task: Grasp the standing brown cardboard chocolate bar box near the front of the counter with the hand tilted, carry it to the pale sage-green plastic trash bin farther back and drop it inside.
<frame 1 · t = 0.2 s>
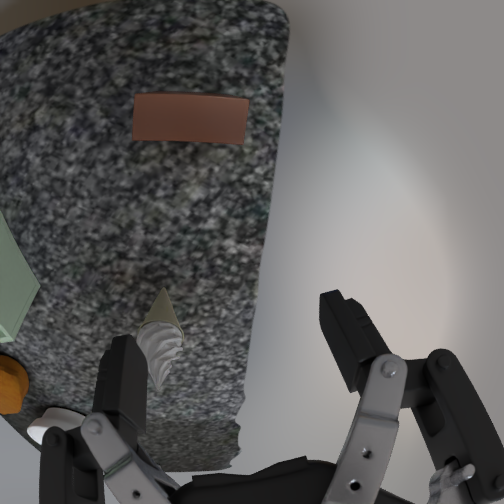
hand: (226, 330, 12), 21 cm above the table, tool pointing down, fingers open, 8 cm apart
chocolate bar: (191, 106, 25), on the table
bowl: (71, 417, 51), on the table
ice cream cone: (163, 287, 36), on the table
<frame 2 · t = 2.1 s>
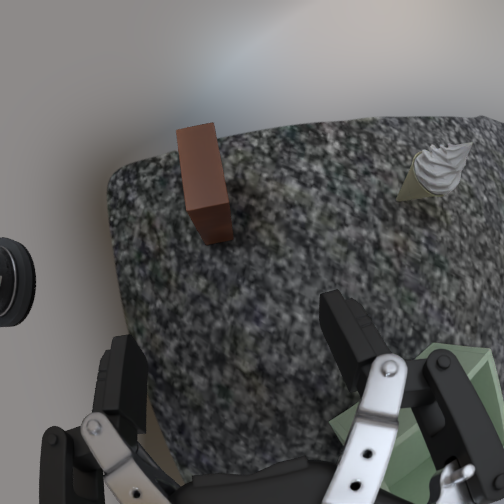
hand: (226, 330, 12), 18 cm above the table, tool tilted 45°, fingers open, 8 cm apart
chocolate bar: (213, 211, 31), on the table
trash bin: (407, 427, 27), on the table
ice cream cone: (396, 200, 32), on the table
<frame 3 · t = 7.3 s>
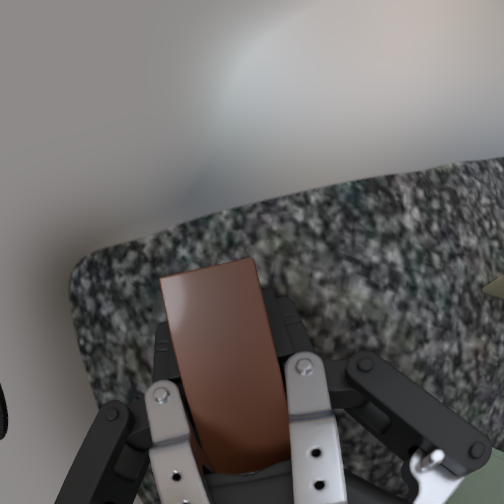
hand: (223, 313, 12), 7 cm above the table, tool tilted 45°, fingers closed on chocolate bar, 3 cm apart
chocolate bar: (238, 341, 19), on the table, touching gripper
ice cream cone: (482, 290, 20), on the table
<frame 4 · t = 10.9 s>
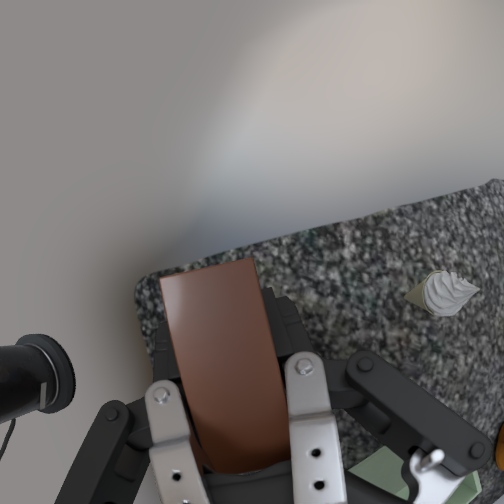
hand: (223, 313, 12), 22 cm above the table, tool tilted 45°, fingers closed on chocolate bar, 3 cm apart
chocolate bar: (238, 341, 19), point 15 cm above the table, touching gripper
trash bin: (399, 475, 29), on the table
ice cream cone: (404, 297, 35), on the table
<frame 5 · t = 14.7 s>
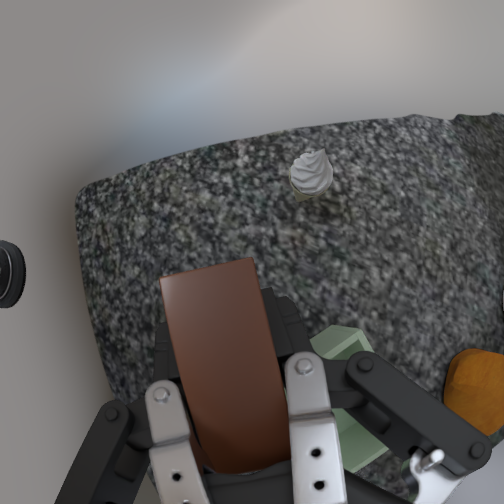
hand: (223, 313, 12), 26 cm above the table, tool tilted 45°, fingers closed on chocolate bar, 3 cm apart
bread: (465, 393, 36), on the table
chocolate bar: (238, 341, 19), point 19 cm above the table, touching gripper
trash bin: (311, 400, 36), on the table
ice cream cone: (297, 201, 42), on the table
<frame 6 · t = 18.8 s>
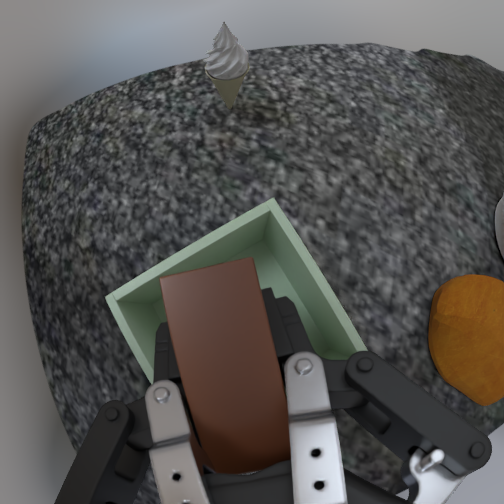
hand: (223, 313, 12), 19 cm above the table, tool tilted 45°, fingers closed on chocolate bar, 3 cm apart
bread: (459, 344, 31), on the table
chocolate bar: (239, 342, 19), point 12 cm above the table, touching gripper
trash bin: (240, 328, 31), on the table
ice cream cone: (229, 108, 36), on the table
when the fingers open (8 cm above the table, at t = 22.2 s): chocolate bar stays where it is, resting on trash bin.
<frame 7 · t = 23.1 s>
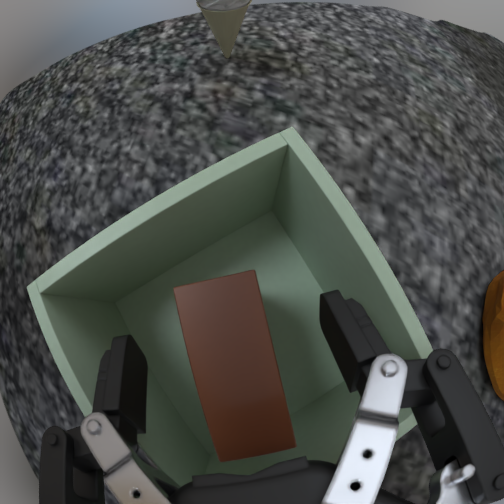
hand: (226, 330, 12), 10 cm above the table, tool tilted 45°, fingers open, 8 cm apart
chocolate bar: (240, 341, 20), point 1 cm above the table, touching trash bin
trash bin: (239, 338, 21), on the table
ice cream cone: (227, 58, 27), on the table
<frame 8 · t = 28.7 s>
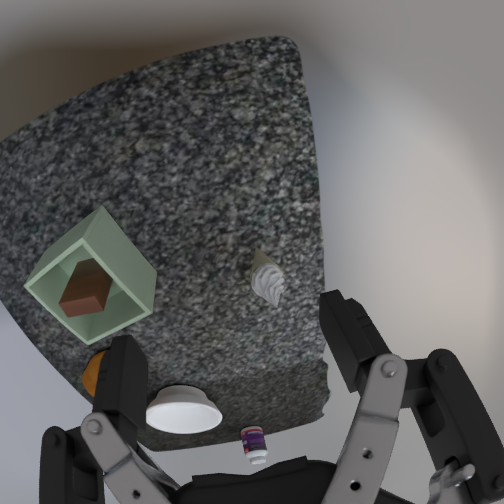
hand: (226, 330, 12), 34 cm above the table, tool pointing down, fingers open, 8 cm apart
bread: (112, 361, 62), on the table
pill bottle: (250, 428, 94), on the table
chocolate bar: (96, 264, 46), point 1 cm above the table, touching trash bin
trash bin: (98, 261, 47), on the table
bowl: (181, 394, 73), on the table
ice cream cone: (256, 247, 51), on the table
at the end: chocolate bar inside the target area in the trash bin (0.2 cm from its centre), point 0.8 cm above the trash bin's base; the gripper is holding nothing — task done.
